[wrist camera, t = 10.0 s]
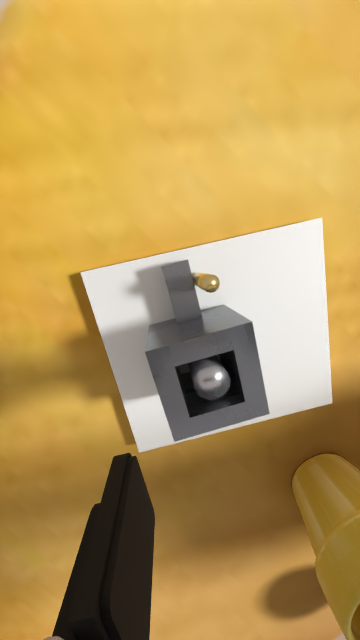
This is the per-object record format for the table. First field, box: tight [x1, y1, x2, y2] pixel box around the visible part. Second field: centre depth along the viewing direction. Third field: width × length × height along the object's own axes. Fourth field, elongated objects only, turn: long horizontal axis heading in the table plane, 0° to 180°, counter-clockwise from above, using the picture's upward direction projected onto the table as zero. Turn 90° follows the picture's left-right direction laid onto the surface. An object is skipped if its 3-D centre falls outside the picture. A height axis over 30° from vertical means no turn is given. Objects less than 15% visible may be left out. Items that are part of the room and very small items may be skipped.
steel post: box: [187, 355, 230, 400], centre depth 16 cm, size 2×2×5 cm
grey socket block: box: [145, 259, 270, 442], centre depth 15 cm, size 10×6×6 cm, turn 15°
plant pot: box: [292, 454, 360, 640], centre depth 20 cm, size 10×10×10 cm
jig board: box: [81, 218, 332, 453], centre depth 19 cm, size 18×16×1 cm
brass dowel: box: [192, 272, 220, 293], centre depth 15 cm, size 1×1×4 cm
